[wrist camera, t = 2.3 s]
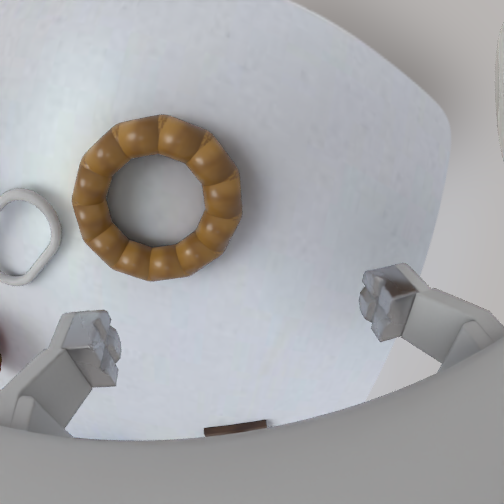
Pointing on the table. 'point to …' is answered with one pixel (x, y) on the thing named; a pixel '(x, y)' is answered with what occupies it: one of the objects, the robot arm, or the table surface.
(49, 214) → the hook
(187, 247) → the ring
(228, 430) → the stand
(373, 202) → the table surface
